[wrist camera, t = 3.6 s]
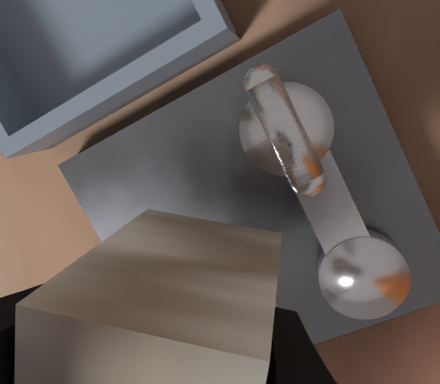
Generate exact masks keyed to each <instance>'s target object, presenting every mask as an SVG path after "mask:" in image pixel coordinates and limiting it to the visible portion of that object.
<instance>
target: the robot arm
mask: <svg viewBox="0 0 440 384" xmlns="http://www.w3.org/2000/svg"><path fill="white" fill-rule="evenodd" d="M44 284H45V283H44ZM42 285H43V284H41V285H38V286H36V287H33V288H30V289H27V290H24V291H21V292H18V293H14V294H11V295H8V296H5V297H1V298H0V384H14V372H15V312H16V304H17V303H18V302H20V301H21V300H22V299H24V298H25V297H27V296H28V295H29V294H31V293H32V292H33V291H35V290H36V289H38V288H39V287H40V286H42ZM266 384H337V383H336V382H335V380H334V379H333V377H332V375H331V374H330V372H329V371H328V369H327V367H326V366H325V364H324V362H323V361H322V359H321V357H320V356H319V354H318V352H317V350H316V349H315V347H314V345H313V343H312V341H311V339H310V337H309V335H308V333H307V331H306V329H305V327H304V325H303V323H302V321H301V318H300V316H299V315H298V313H297V312H296V311H293V310H288V309H283V308H278V307H275V312H274V322H273V333H272V343H271V354H270V363H269V369H268V374H267V379H266Z"/></svg>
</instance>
